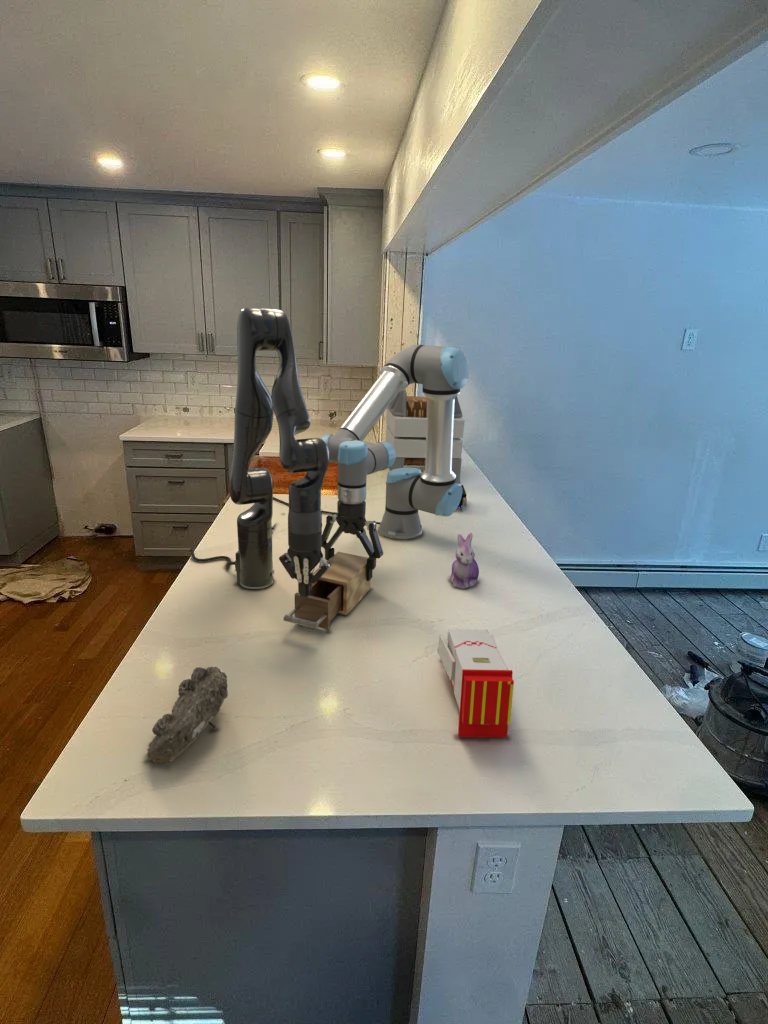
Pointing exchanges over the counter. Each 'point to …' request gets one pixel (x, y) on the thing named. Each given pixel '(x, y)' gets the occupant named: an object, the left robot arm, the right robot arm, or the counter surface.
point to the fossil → (189, 713)
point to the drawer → (317, 605)
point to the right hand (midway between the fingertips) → (349, 574)
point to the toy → (478, 682)
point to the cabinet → (348, 578)
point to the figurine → (464, 564)
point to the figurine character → (463, 499)
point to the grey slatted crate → (417, 432)
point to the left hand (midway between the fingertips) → (305, 595)
